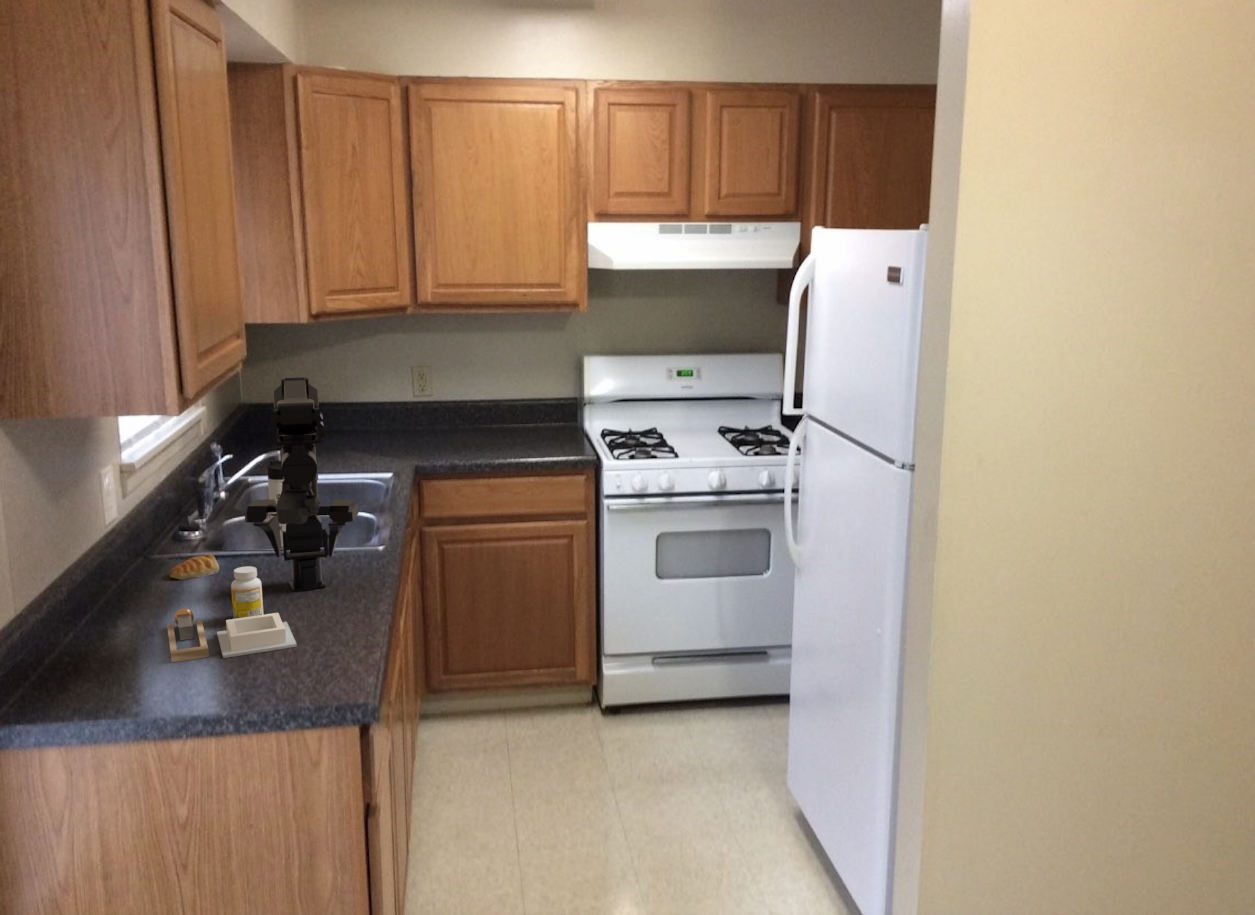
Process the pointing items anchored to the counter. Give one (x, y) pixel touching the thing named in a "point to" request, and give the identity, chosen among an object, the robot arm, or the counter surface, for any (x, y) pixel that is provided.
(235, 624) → the socket
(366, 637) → the counter surface
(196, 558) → the pastry
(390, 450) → the counter surface
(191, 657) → the mount
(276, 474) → the travel mug
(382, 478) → the counter surface
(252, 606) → the supplement bottle
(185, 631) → the lock pin
